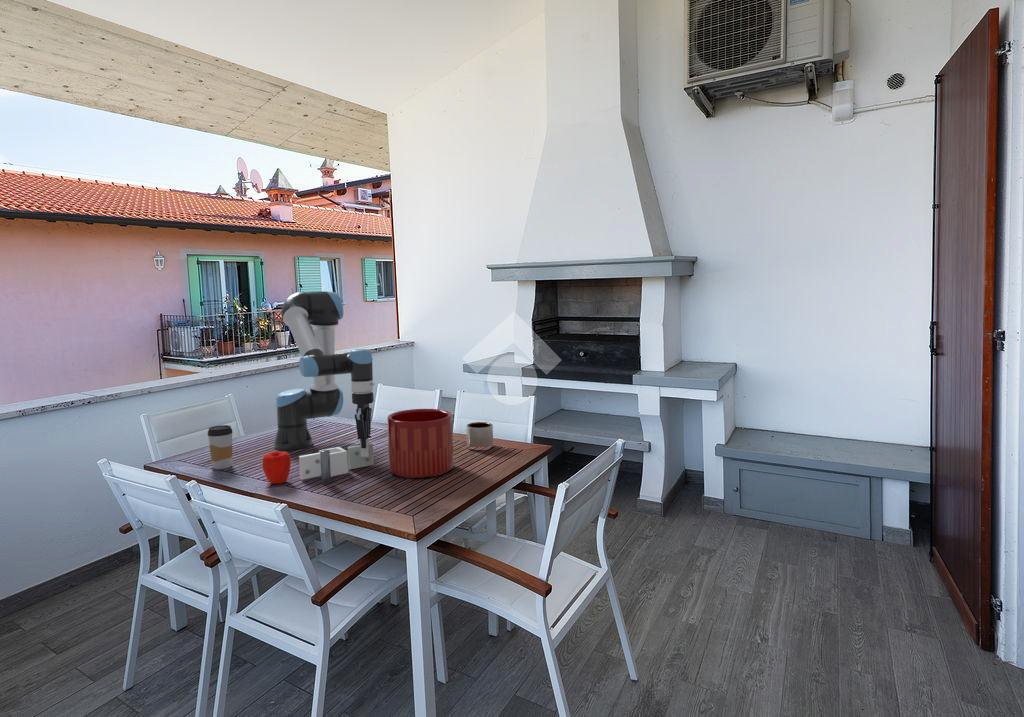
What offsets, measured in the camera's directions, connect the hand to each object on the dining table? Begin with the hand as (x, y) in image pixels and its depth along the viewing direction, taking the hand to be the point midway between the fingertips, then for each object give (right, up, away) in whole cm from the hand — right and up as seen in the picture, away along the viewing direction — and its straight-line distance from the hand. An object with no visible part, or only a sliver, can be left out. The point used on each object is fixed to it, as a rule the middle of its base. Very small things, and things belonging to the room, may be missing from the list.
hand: (365, 456), depth 209 cm
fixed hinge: (-13, -6, -6) cm, 16 cm away
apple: (-26, -7, -14) cm, 30 cm away
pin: (-10, -7, -14) cm, 18 cm away
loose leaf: (-2, -4, +2) cm, 5 cm away
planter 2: (+40, -1, +27) cm, 49 cm away
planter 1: (+21, -5, -1) cm, 21 cm away
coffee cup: (-54, -5, +5) cm, 55 cm away
